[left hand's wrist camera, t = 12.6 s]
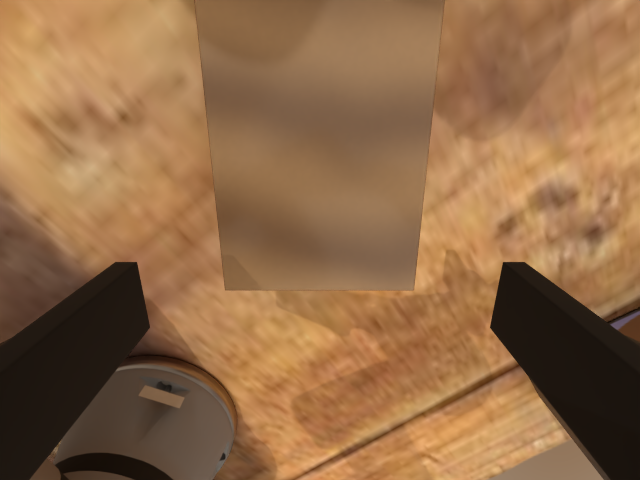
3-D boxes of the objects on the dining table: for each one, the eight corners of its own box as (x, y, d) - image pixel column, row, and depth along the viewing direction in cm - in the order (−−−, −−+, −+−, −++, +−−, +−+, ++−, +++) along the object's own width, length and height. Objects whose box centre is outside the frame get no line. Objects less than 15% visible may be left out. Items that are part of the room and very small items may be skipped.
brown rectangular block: (235, -54, 22) (176, -168, 13) (404, -53, 22) (463, -168, 13) (254, 235, 29) (224, 290, 20) (384, 235, 29) (414, 290, 20)
